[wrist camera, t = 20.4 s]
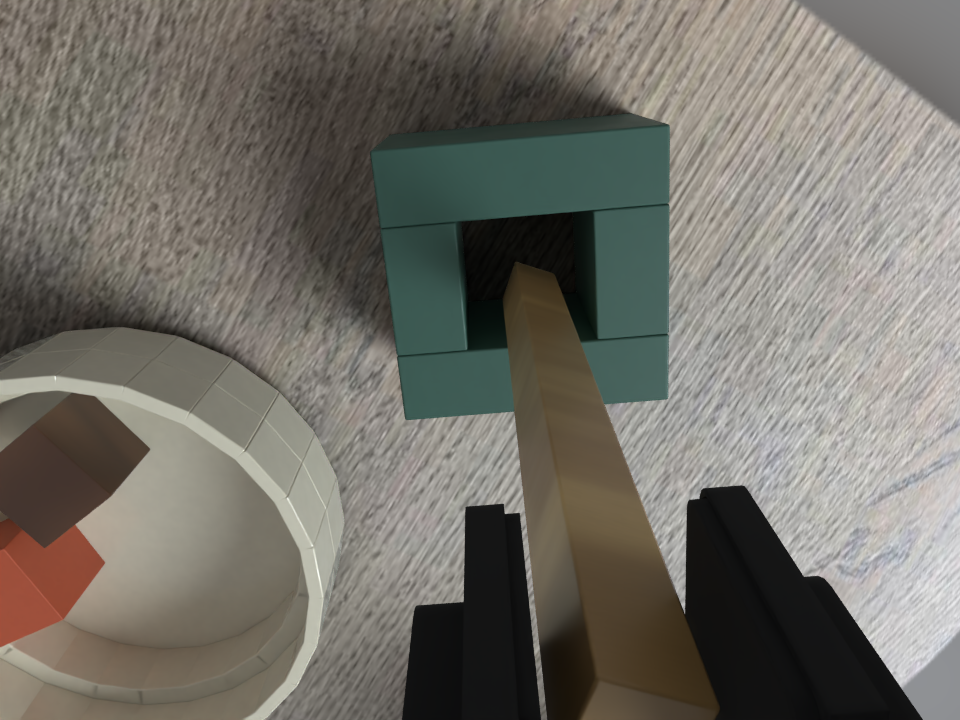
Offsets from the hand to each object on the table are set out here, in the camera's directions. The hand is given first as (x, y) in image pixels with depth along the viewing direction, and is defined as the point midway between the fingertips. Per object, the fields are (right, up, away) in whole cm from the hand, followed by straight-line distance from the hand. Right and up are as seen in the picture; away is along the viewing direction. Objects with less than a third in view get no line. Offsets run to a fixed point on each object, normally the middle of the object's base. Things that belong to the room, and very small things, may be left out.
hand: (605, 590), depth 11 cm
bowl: (-17, -4, +25) cm, 31 cm away
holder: (0, +8, +21) cm, 22 cm away
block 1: (-19, 0, +23) cm, 30 cm away
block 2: (-22, -6, +25) cm, 34 cm away
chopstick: (0, +6, +17) cm, 18 cm away
